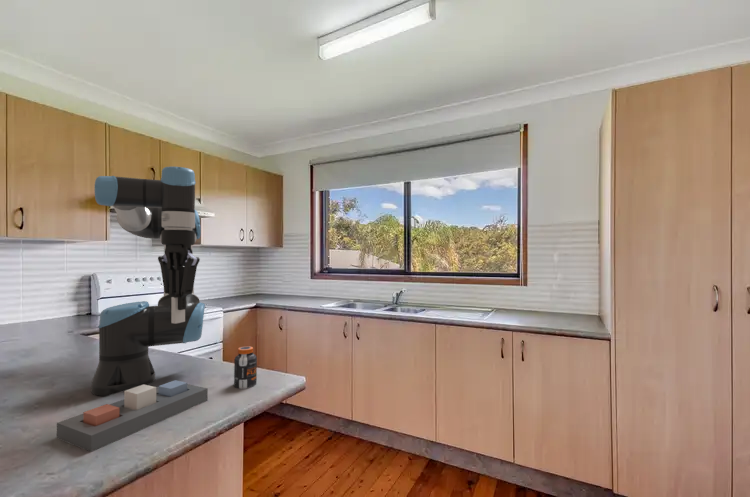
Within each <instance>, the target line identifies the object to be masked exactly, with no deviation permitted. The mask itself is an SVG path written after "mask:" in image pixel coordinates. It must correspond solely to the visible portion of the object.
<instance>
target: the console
mask: <svg viewBox="0 0 750 497" xmlns="http://www.w3.org/2000/svg"><path fill="white" fill-rule="evenodd" d="M208 400H209V399H208V388H207V387H202V386H199V385H194V384H190V383H187V391H185V392H183V393H180V394H177V395H175V396H172V397H167V396H163V395H159V386H157V387H156V403H154V404H152V405H149V406H147V407H144V408H141V409H139V410H136V411H135V410H132V409H129V408H125V407H124V398H123V399H121V400H118V401H116V402H112V403H109V404H108V405H112V406H115V407H119V417H118V418H116V419H113V420H111V421H108V422H105V423H103V424H100V425H98V426H95V427H94V426H91V425H89V424H86V423H83V413H81V414H78V415H74V416H73V417H70V418H67V419H64V420H61V421H58V422H56V439H58V440H60V441H63V442H65V443H69V444H70V445H73V446H76V447H78V448H81V449H83V450H86V451H88V452H91V453H92V452H94V451H97V450H99V449H101V448H103V447H106V446H107V445H111V444H112V443H114V442H117V441H119V440H121V439H124V438H126V437H128V436H131V435H133V434H135V433H138V432H139V431H142V430H144V429H146V428H148V427H151V426H154V425H156V424H158V423H161V422H163V421H165V420H167V419H169V418H171V417H174V416H177V415H178V414H181V413H183V412H185V411H187V410H190V409H191V408H194V407H196V406H198V405H201V404H203V403H205V402H208Z"/></svg>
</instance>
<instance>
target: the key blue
mask: <svg viewBox="0 0 750 497" xmlns="http://www.w3.org/2000/svg"><path fill="white" fill-rule="evenodd" d="M187 384H188V382H185V381H181V380H176V379H175V380H172V381H169V382H166V383H163V384H160V385H158V387H159V395H163V396H167V397H172V396H175V395H177V394H180V393H183V392H185V391H187Z"/></svg>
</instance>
